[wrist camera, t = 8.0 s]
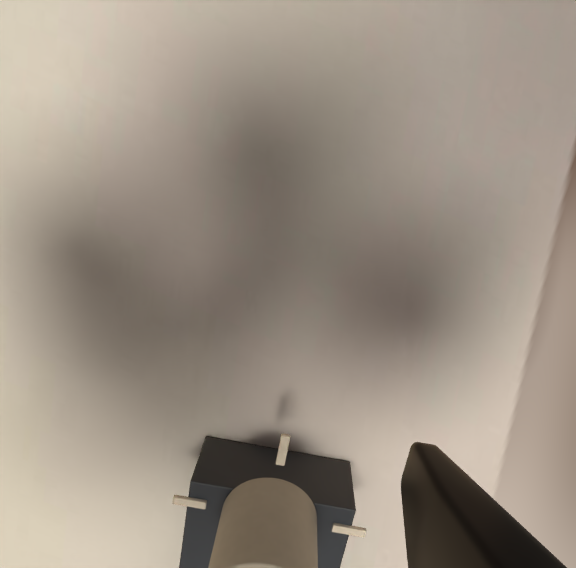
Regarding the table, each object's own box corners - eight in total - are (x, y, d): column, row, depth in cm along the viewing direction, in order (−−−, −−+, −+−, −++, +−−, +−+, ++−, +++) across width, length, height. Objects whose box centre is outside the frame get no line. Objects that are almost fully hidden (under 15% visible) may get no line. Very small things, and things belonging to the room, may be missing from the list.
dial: (229, 468, 18) (206, 562, 14) (326, 486, 19) (330, 585, 14) (216, 542, 20) (191, 648, 16) (306, 559, 20) (305, 669, 16)
